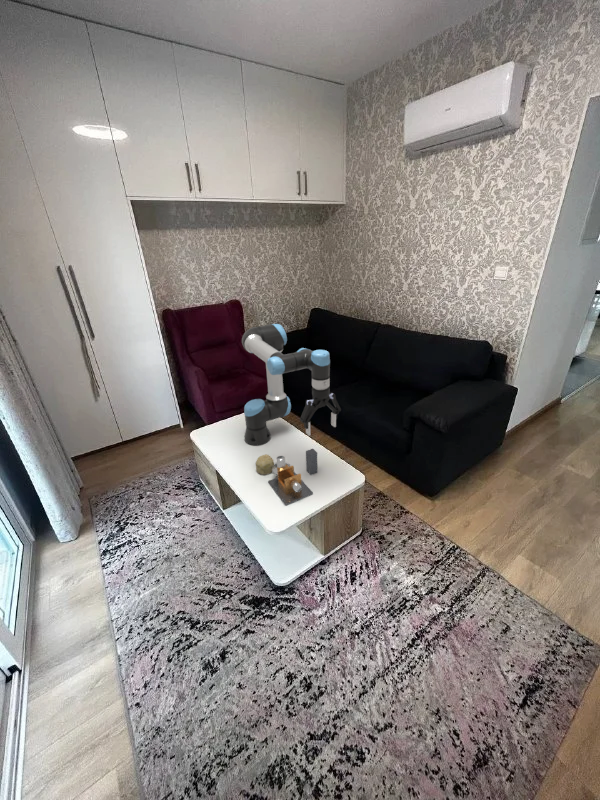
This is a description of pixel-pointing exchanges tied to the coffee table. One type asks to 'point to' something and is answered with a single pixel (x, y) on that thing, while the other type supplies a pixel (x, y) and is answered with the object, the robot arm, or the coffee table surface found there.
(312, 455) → the dark gray rectangular block
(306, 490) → the multicoloured piece
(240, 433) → the coffee table surface
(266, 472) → the decorative object
